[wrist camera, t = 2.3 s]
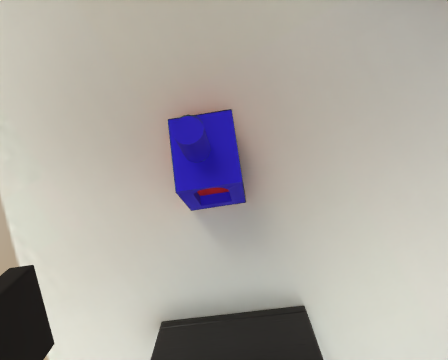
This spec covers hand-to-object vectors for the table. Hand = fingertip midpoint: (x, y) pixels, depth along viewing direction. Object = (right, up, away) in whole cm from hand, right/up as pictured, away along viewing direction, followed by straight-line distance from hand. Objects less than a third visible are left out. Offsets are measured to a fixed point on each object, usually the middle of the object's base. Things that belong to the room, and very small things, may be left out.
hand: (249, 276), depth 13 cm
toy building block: (-2, +4, +14) cm, 15 cm away
